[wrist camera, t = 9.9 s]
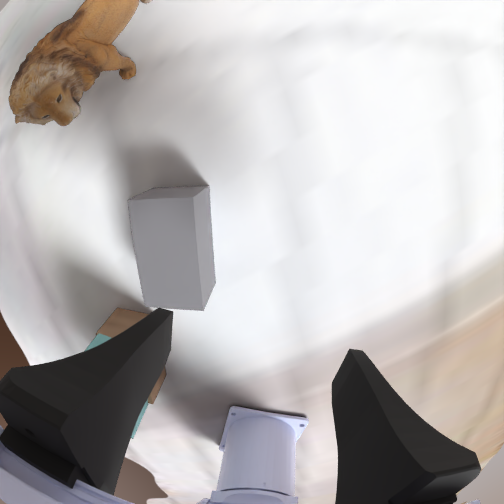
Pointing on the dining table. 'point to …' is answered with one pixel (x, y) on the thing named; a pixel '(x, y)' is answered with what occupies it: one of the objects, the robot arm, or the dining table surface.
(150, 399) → the walnut brick
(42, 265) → the dining table surface
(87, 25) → the lion figurine
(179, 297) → the gray brick
